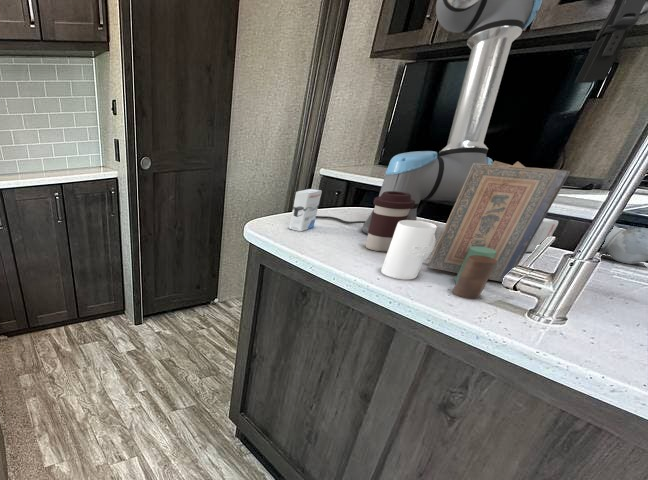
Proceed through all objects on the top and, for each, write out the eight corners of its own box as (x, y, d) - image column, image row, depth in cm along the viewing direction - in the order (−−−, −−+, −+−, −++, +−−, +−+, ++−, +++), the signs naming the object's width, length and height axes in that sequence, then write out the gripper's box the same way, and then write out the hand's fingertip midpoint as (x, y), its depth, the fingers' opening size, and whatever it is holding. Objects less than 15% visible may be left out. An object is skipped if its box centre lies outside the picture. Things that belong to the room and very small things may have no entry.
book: (425, 269, 100) (474, 158, 87) (427, 263, 105) (474, 157, 91) (508, 285, 92) (576, 165, 79) (506, 278, 97) (570, 164, 84)
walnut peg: (451, 295, 88) (468, 259, 83) (453, 288, 91) (469, 253, 87) (478, 300, 85) (497, 264, 81) (479, 293, 89) (497, 258, 84)
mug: (437, 275, 98) (459, 225, 91) (400, 281, 94) (420, 230, 88) (409, 265, 104) (427, 217, 97) (373, 270, 101) (390, 221, 94)
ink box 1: (301, 224, 138) (309, 188, 132) (314, 227, 135) (323, 190, 129) (287, 228, 134) (295, 191, 127) (301, 231, 131) (309, 193, 124)
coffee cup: (367, 241, 122) (384, 188, 113) (402, 248, 116) (422, 193, 107) (354, 248, 116) (371, 193, 107) (390, 256, 110) (410, 198, 102)
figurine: (579, 258, 110) (651, 278, 100) (600, 225, 105) (680, 242, 94) (597, 250, 114) (669, 268, 103) (619, 218, 108) (698, 233, 97)
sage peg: (453, 284, 93) (469, 250, 89) (454, 277, 96) (470, 244, 92) (479, 288, 91) (497, 254, 86) (479, 282, 94) (496, 248, 90)
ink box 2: (492, 248, 116) (526, 247, 117) (507, 253, 112) (543, 252, 113) (506, 217, 111) (542, 217, 113) (523, 221, 107) (560, 220, 109)
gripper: (734, -113, 55) (628, 77, 67) (680, -63, 71) (603, 83, 83) (657, -100, 58) (569, 79, 70) (623, -55, 75) (557, 84, 87)
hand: (587, 81), depth 77 cm, fingers open, 13 cm apart
